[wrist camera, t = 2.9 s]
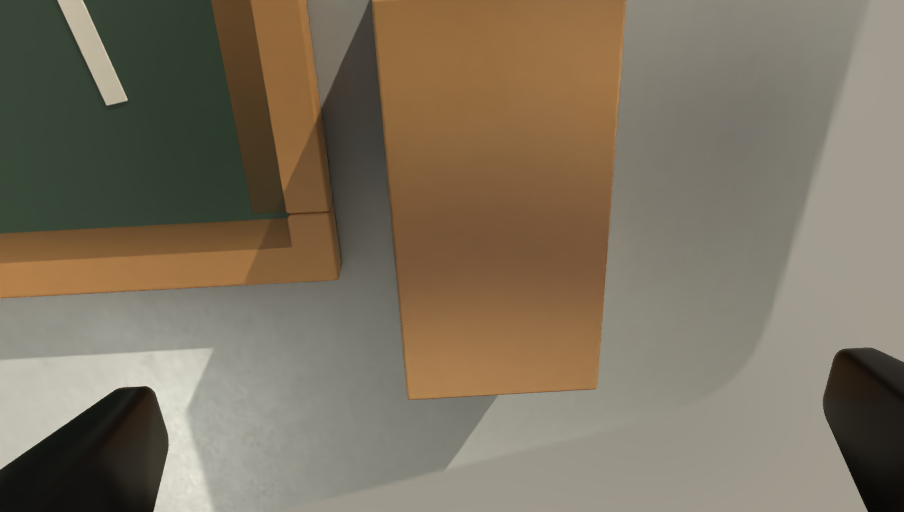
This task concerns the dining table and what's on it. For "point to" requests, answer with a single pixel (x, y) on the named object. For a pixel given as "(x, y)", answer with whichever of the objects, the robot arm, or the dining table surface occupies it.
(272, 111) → the chalkboard
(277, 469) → the dining table surface
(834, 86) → the dining table surface
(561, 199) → the eraser
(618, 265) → the dining table surface
